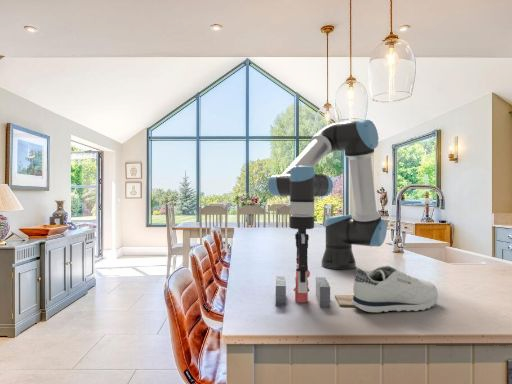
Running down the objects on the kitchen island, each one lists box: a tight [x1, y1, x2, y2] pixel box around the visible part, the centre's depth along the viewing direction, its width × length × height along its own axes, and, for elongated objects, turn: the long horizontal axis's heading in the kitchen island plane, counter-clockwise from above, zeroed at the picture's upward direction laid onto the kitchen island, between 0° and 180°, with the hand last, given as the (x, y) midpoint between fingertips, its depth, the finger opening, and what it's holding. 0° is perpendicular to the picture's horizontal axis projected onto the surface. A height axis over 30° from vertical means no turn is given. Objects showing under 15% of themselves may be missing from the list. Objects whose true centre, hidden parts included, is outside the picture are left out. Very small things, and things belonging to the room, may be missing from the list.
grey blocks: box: [275, 276, 331, 308], centre depth 114 cm, size 12×16×6 cm
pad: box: [334, 294, 357, 308], centre depth 113 cm, size 10×10×1 cm
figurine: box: [293, 256, 311, 303], centre depth 114 cm, size 5×5×15 cm
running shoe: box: [352, 265, 438, 313], centre depth 108 cm, size 11×29×12 cm, turn 112°
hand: (301, 288), depth 114 cm, fingers open, 8 cm apart
